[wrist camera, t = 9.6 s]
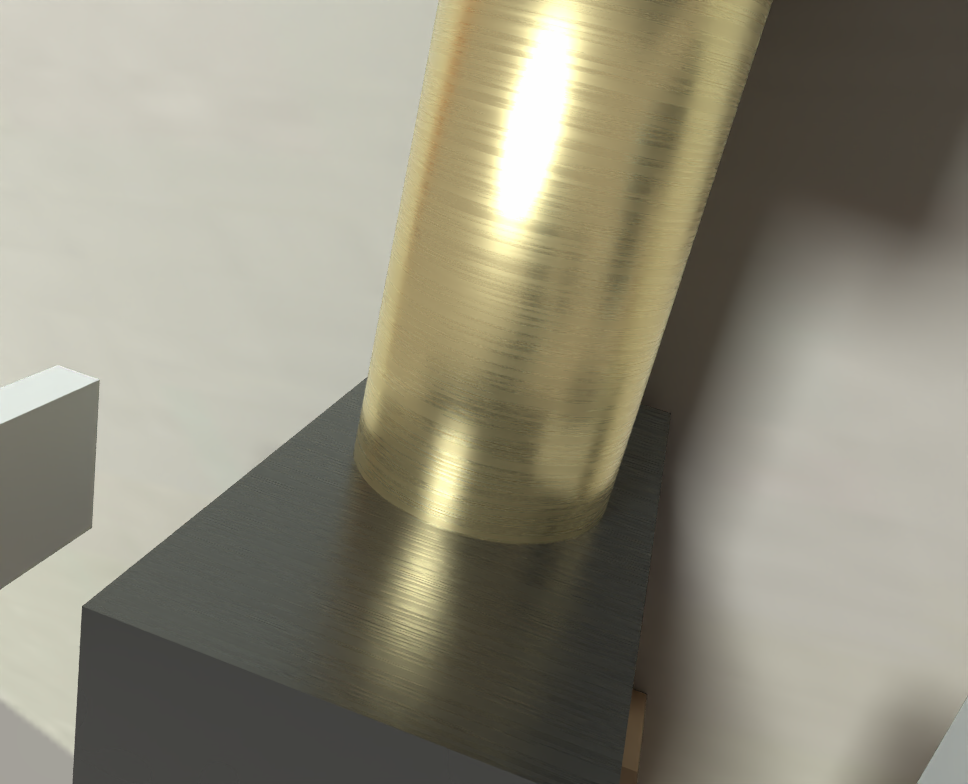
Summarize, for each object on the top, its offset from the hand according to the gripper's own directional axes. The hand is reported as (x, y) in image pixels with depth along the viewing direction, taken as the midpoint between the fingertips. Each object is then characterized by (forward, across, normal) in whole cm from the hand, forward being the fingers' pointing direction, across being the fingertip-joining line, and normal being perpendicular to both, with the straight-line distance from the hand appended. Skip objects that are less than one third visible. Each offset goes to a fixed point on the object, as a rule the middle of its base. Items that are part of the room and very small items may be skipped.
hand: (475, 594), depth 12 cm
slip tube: (+5, 0, +3) cm, 6 cm away
